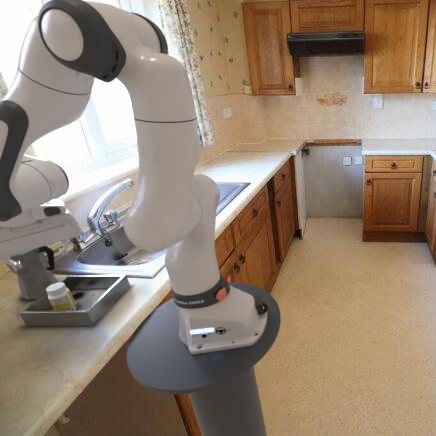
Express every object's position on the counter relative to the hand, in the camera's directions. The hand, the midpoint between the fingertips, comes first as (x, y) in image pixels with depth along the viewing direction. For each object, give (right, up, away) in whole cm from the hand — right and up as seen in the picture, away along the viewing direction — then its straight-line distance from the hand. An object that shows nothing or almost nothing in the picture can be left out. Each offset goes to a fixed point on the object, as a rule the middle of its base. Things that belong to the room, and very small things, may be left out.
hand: (42, 261), depth 84 cm
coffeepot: (-13, -11, +16) cm, 24 cm away
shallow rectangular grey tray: (+3, -14, +9) cm, 17 cm away
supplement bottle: (+1, -15, +7) cm, 16 cm away
